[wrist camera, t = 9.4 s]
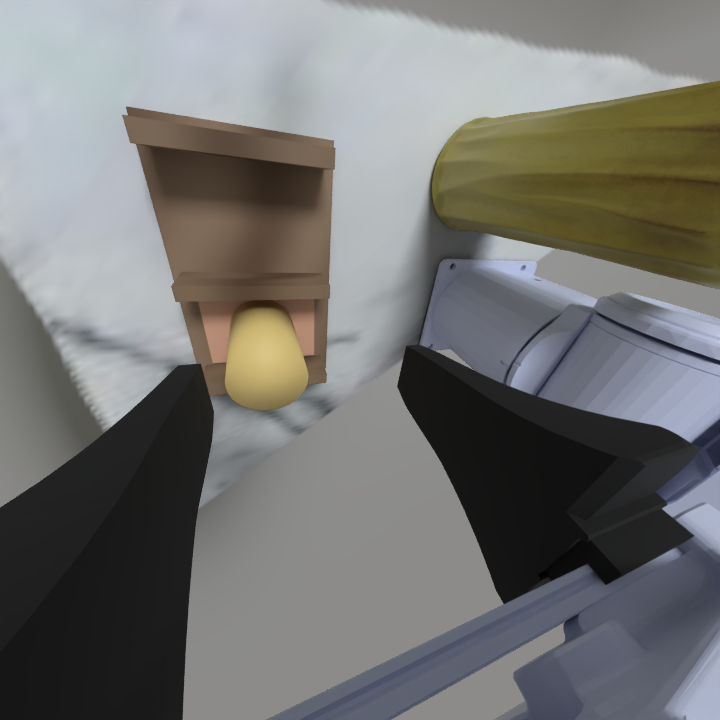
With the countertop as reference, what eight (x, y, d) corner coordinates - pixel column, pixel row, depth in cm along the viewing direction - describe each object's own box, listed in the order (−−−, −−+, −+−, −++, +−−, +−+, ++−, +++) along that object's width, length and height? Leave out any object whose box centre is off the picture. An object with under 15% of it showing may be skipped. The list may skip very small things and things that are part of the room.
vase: (480, 240, 21) (745, 320, 10) (415, 214, 18) (673, 283, 7) (527, 144, 18) (982, 99, 7) (458, 97, 15) (1008, -101, 4)
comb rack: (331, 141, 15) (346, 135, 12) (324, 364, 23) (332, 386, 20) (129, 108, 12) (99, 93, 9) (202, 376, 20) (195, 403, 17)
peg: (292, 298, 18) (309, 345, 13) (293, 350, 20) (307, 405, 15) (226, 298, 17) (218, 350, 12) (233, 353, 19) (230, 415, 14)
